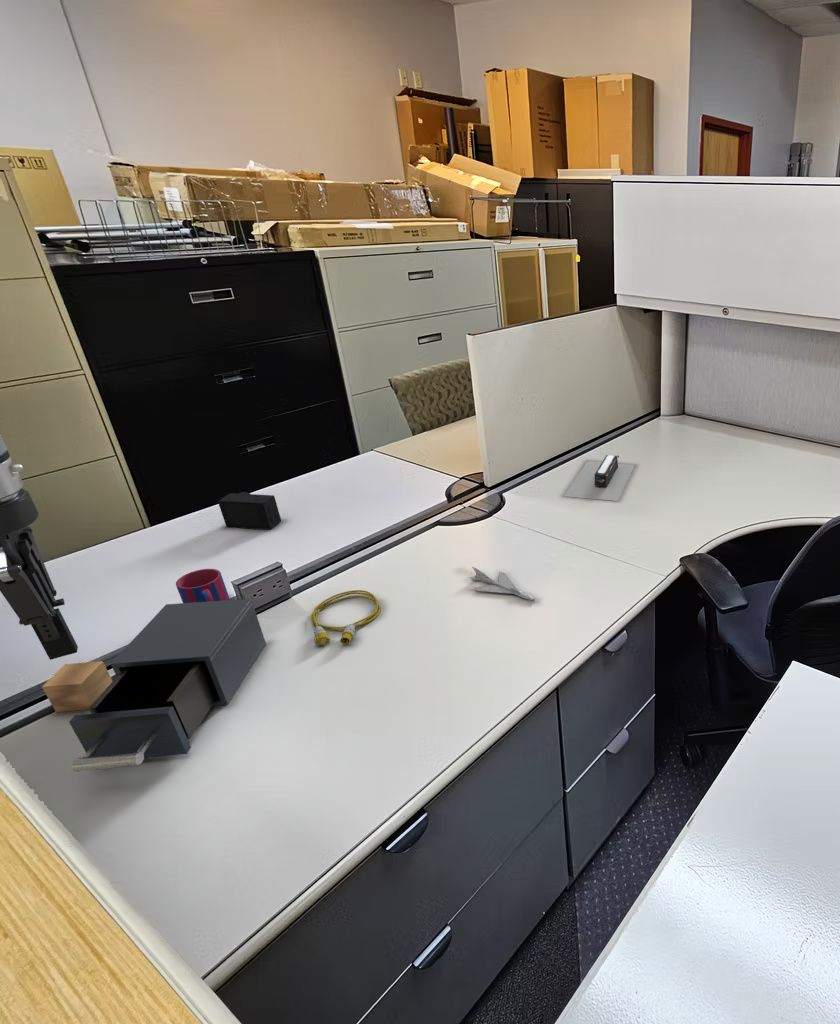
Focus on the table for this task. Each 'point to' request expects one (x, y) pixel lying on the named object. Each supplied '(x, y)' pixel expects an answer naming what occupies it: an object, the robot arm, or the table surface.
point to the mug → (202, 586)
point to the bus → (601, 480)
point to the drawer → (144, 715)
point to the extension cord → (348, 630)
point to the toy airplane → (499, 585)
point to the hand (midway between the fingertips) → (64, 653)
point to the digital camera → (249, 511)
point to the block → (77, 686)
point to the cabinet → (201, 641)
